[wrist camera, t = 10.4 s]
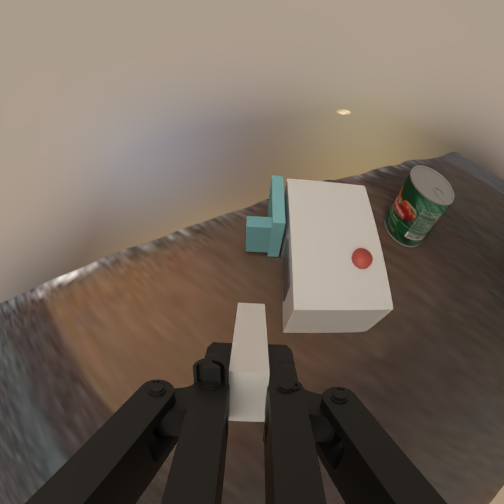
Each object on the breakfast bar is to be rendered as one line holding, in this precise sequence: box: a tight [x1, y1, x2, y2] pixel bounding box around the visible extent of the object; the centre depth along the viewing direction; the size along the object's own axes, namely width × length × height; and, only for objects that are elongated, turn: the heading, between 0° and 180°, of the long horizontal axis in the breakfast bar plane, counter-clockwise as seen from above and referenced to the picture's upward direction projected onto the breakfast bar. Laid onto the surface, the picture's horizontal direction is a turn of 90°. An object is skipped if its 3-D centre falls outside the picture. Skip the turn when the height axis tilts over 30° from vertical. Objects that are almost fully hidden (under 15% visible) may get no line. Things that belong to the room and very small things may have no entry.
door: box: [246, 176, 286, 257], centre depth 39 cm, size 4×8×8 cm, turn 178°
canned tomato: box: [384, 165, 454, 247], centre depth 40 cm, size 8×8×11 cm
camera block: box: [281, 179, 393, 333], centre depth 36 cm, size 11×20×9 cm, turn 178°
